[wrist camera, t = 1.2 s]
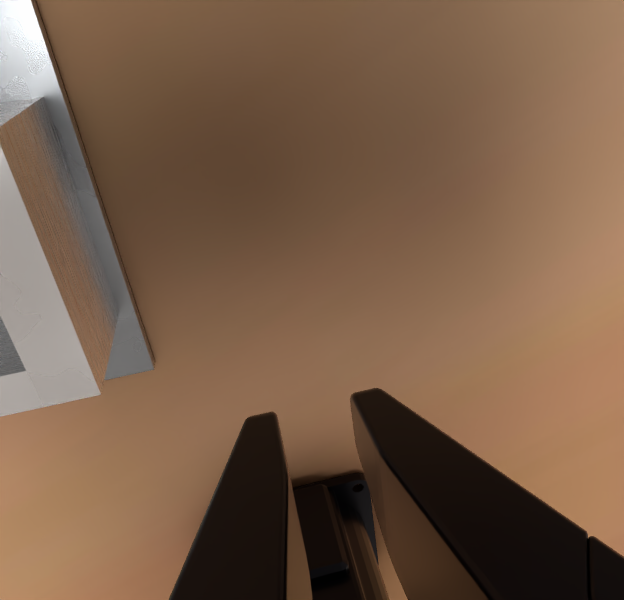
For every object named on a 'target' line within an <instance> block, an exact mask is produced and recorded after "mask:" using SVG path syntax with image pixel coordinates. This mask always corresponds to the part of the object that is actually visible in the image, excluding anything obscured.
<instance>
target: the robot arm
mask: <svg viewBox="0 0 624 600" xmlns="http://www.w3.org/2000/svg"><path fill="white" fill-rule="evenodd" d="M350 403H351V411H352V419H353V427H354V435H355V442H356V447H357V451H358V455H359V458H360V461H361V465H362V468H363V471H364V474H362V473H354V474H350V475H346V476H342V477H338V478H334V479H329V480H325V481H321V482H317V483H313V484H309V485H305V486H301V487H297V488H292V484H291V479H290V474H289V470H288V465H287V460H286V455H285V450H284V446H283V441H282V436H281V432H280V427H279V422H278V417H277V414H276V413H274V412H268V413H263V414H259V415H254V416H250V417H248V418H247V419H246V420H245V422H244V424H243V426H242V429H241V431H240V433H239V436H238V438H237V440H236V443H235V445H234V447H233V450H232V452H231V455H230V457H229V459H228V462H227V464H226V466H225V469H224V471H223V473H222V476H221V478H220V480H219V483H218V485H217V487H216V490H215V492H214V494H213V497H212V499H211V501H210V504H209V506H208V509H207V511H206V513H205V516H204V518H203V520H202V523H201V525H200V527H199V530H198V532H197V534H196V537H195V539H194V541H193V544H192V546H191V548H190V551H189V553H188V556H187V558H186V560H185V563H184V565H183V567H182V570H181V572H180V574H179V577H178V579H177V581H176V584H175V586H174V588H173V591H172V593H171V595H170V598H169V600H389V597H388V594H387V591H386V588H385V585H384V582H383V579H382V576H381V573H380V570H379V567H378V556H377V548H376V539H375V531H374V522H373V514H372V505H371V498H372V501H373V505H374V508H375V512H376V515H377V518H378V522H379V525H380V528H381V532H382V535H383V538H384V541H385V544H386V547H387V550H388V553H389V556H390V558H391V561H392V563H393V566H394V568H395V571H396V573H397V576H398V578H399V580H400V582H401V585H402V587H403V589H404V592H405V594H406V596H407V599H408V600H624V557H623V556H622V555H620V554H619V553H617V552H616V551H615V550H613V549H612V548H610V547H609V546H607V545H606V544H604V543H603V542H602V541H600V540H599V539H597V538H596V537H594V536H590V537H589V538H588V534H587V532H586V531H585V530H584V529H582V528H581V527H579V526H578V525H577V524H575V523H574V522H572V521H571V520H569V519H568V518H566V517H565V516H564V515H562V514H561V513H559V512H558V511H556V510H555V509H553V508H552V507H551V506H549V505H548V504H546V503H545V502H543V501H542V500H540V499H539V498H538V497H536V496H535V495H533V494H532V493H530V492H529V491H527V490H526V489H525V488H523V487H522V486H520V485H519V484H517V483H516V482H515V481H513V480H512V479H510V478H509V477H507V476H506V475H504V474H503V473H502V472H500V471H499V470H497V469H496V468H494V467H493V466H491V465H490V464H489V463H487V462H486V461H484V460H483V459H481V458H480V457H478V456H477V455H476V454H474V453H473V452H471V451H470V450H468V449H467V448H465V447H464V446H463V445H461V444H460V443H458V442H457V441H455V440H454V439H452V438H451V437H450V436H448V435H447V434H445V433H444V432H442V431H441V430H440V429H438V428H437V427H435V426H434V425H432V424H431V423H429V422H428V421H427V420H425V419H424V418H422V417H421V416H419V415H418V414H416V413H415V412H414V411H412V410H411V409H409V408H408V407H406V406H405V405H403V404H402V403H401V402H399V401H398V400H396V399H395V398H393V397H392V396H390V395H389V394H388V393H386V392H385V391H383V390H382V389H379V388H373V389H369V390H364V391H360V392H355V393H353V394H352V395H351V398H350ZM356 484H359V485H356ZM370 495H371V497H370Z"/></svg>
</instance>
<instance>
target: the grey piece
mask: <svg viewBox="0 0 624 600" xmlns="http://www.w3.org/2000/svg"><path fill="white" fill-rule="evenodd" d="M38 97H44V100H45V103H46V106H47V108H48V111H49V114H50V117H51V120H52V123H53V126H54V128H55V131H56V134H57V137H58V140H59V143H60V146H61V148H62V151H63V154H64V157H65V160H66V163H67V166H68V168H69V171H70V174H71V177H72V180H73V183H74V186H75V188H76V191H77V194H78V197H79V200H80V203H81V205H82V208H83V211H84V214H85V217H86V220H87V223H88V225H89V228H90V231H91V234H92V237H93V240H94V243H95V245H96V248H97V251H98V254H99V257H100V260H101V263H102V265H103V268H104V271H105V274H106V277H107V280H108V283H109V285H110V288H111V291H112V294H113V297H114V300H115V302H116V305H117V308H118V311H119V316H118V320H117V325H116V329H115V334H114V338H113V343H112V347H111V352H110V356H109V361H108V365H107V369H106V374H105V378H104V380H108V379H112V378H117V377H122V376H126V375H131V374H136V373H140V372H145V371H149V370H154V365H155V361H154V358H153V355H152V352H151V349H150V346H149V343H148V340H147V336H146V333H145V330H144V327H143V324H142V321H141V318H140V315H139V312H138V309H137V306H136V303H135V300H134V297H133V294H132V291H131V288H130V285H129V282H128V279H127V276H126V273H125V270H124V267H123V264H122V261H121V258H120V255H119V252H118V249H117V246H116V243H115V240H114V237H113V234H112V231H111V228H110V225H109V222H108V219H107V216H106V212H105V209H104V206H103V203H102V200H101V197H100V194H99V191H98V188H97V185H96V182H95V179H94V176H93V173H92V170H91V167H90V164H89V161H88V158H87V155H86V152H85V149H84V146H83V143H82V140H81V137H80V134H79V131H78V128H77V125H76V122H75V119H74V116H73V113H72V110H71V107H70V104H69V101H68V98H67V95H66V92H65V89H64V85H63V82H62V79H61V76H60V73H59V70H58V67H57V64H56V61H55V58H54V55H53V52H52V49H51V46H50V43H49V40H48V37H47V34H46V31H45V28H44V25H43V22H42V19H41V16H40V13H39V10H38V7H37V4H36V1H35V0H0V104H2V103H8V102H14V101H20V100H26V99H32V98H38Z"/></svg>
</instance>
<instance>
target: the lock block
mask: <svg viewBox="0 0 624 600" xmlns="http://www.w3.org/2000/svg"><path fill="white" fill-rule="evenodd" d="M118 316H119V311H118V308H117V305H116V302H115V300H114V297H113V294H112V291H111V288H110V285H109V283H108V280H107V277H106V274H105V271H104V268H103V265H102V263H101V260H100V257H99V254H98V251H97V248H96V245H95V243H94V240H93V237H92V234H91V231H90V228H89V225H88V223H87V220H86V217H85V214H84V211H83V208H82V205H81V203H80V200H79V197H78V194H77V191H76V188H75V186H74V183H73V180H72V177H71V174H70V171H69V168H68V166H67V163H66V160H65V157H64V154H63V151H62V148H61V146H60V143H59V140H58V137H57V134H56V131H55V128H54V126H53V123H52V120H51V117H50V114H49V111H48V108H47V106H46V103H45V100H44V97H38V98H32V99H26V100H20V101H14V102H8V103H2V104H0V417H1V416H6V415H10V414H15V413H19V412H24V411H29V410H33V409H38V408H42V407H47V406H51V405H56V404H61V403H65V402H70V401H74V400H79V399H83V398H88V397H93V396H97V395H101V392H102V387H103V383H104V378H105V374H106V369H107V365H108V361H109V356H110V352H111V347H112V343H113V338H114V334H115V329H116V325H117V320H118Z"/></svg>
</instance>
